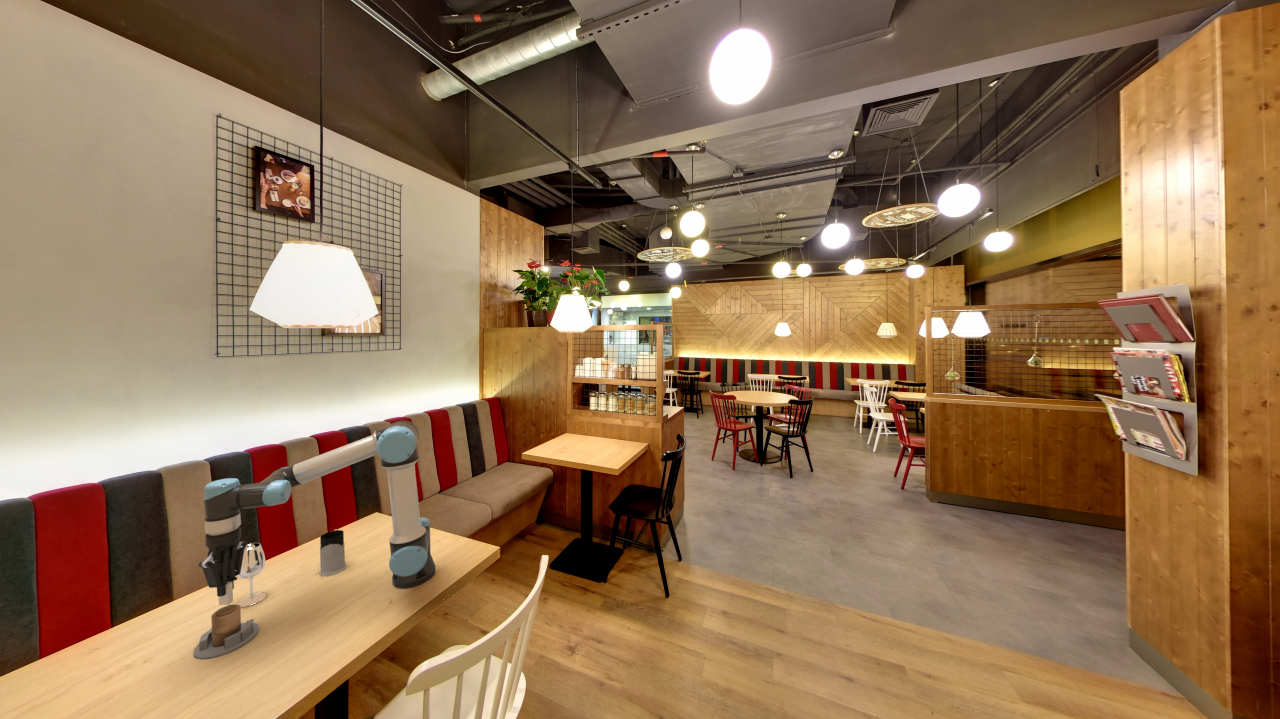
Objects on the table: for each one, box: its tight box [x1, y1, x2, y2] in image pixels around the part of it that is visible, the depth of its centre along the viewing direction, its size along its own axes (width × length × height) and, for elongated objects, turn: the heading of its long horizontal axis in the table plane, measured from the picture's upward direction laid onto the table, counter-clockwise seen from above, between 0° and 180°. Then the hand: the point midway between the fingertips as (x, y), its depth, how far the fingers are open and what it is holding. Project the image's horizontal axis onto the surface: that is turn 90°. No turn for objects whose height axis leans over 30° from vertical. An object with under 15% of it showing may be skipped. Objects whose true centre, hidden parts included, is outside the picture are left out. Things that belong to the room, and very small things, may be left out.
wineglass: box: [235, 542, 267, 608], centre depth 139 cm, size 8×8×20 cm
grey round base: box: [193, 618, 260, 660], centre depth 120 cm, size 14×14×4 cm
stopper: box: [210, 604, 242, 647], centre depth 120 cm, size 6×6×10 cm
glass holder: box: [319, 528, 347, 577], centre depth 161 cm, size 9×14×15 cm, turn 30°
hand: (226, 603), depth 120 cm, fingers closed
